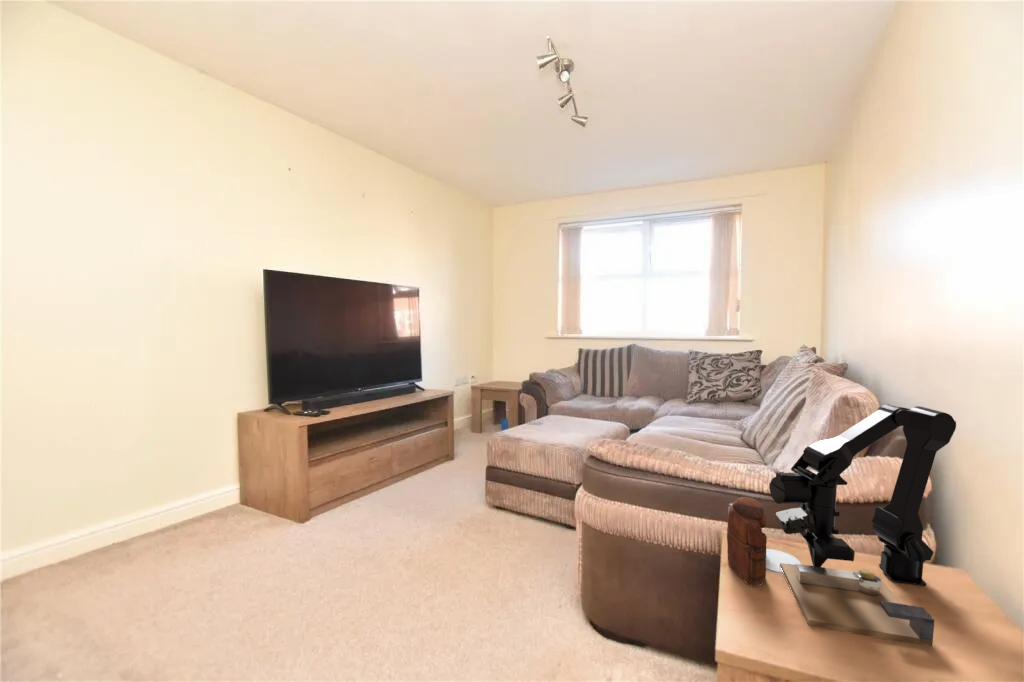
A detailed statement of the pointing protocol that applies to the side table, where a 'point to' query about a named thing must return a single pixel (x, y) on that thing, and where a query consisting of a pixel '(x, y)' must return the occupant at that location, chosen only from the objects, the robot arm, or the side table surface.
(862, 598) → the board
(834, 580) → the link
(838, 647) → the side table surface
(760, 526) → the brown wooden carving
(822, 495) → the robot arm
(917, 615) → the keeper
